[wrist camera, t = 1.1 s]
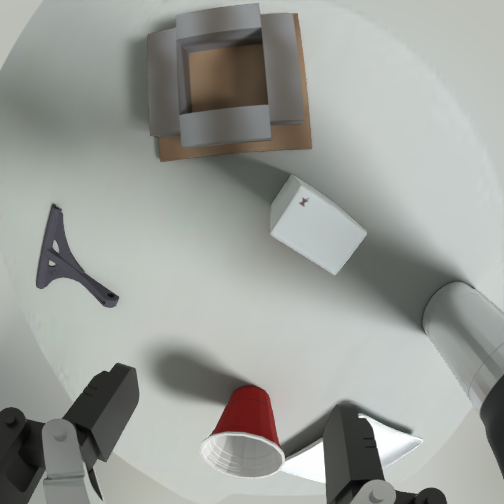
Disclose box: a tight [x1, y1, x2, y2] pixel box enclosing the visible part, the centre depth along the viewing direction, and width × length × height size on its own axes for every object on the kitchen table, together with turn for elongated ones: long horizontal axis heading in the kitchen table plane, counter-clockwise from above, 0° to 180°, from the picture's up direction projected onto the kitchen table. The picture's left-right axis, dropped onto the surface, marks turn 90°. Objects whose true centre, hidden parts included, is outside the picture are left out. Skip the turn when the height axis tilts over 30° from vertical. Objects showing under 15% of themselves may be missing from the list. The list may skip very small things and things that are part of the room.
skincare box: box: [269, 174, 367, 276], centre depth 26 cm, size 6×4×12 cm
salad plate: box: [281, 414, 423, 483], centre depth 43 cm, size 21×21×3 cm
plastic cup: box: [199, 386, 285, 479], centre depth 35 cm, size 11×11×12 cm
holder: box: [147, 3, 312, 162], centre depth 25 cm, size 16×16×6 cm
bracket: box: [36, 204, 119, 308], centre depth 36 cm, size 14×15×3 cm
